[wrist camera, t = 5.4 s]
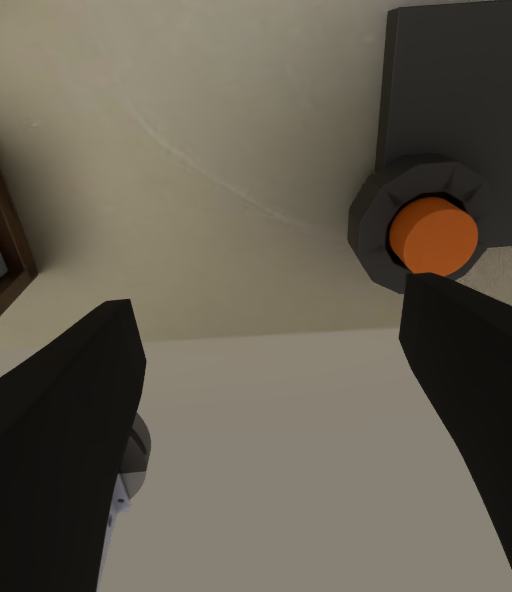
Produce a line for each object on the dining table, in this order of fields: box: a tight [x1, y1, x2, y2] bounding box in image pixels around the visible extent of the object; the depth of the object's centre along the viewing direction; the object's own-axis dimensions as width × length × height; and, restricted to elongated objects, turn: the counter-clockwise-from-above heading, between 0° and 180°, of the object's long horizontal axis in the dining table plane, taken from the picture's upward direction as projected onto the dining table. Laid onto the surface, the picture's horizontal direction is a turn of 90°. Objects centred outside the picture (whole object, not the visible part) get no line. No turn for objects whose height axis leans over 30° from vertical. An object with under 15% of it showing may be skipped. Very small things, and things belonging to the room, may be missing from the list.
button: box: [389, 197, 478, 276], centre depth 17 cm, size 3×3×2 cm
